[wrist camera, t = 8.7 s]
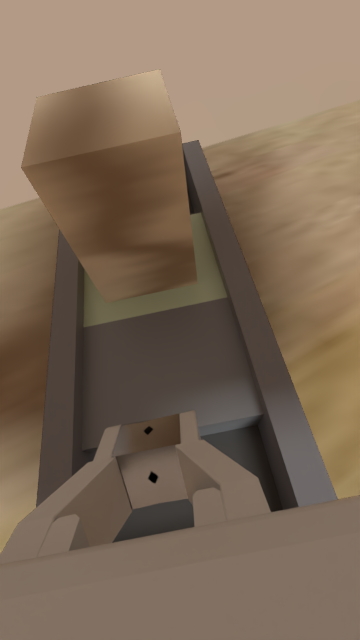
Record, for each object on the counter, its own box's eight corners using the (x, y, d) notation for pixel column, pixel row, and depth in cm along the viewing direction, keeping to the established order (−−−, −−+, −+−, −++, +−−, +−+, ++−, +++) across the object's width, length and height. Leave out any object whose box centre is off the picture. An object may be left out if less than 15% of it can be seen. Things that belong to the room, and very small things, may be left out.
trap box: (201, 182, 28) (198, 140, 25) (355, 630, 12) (411, 689, 8) (83, 208, 28) (64, 169, 25) (73, 682, 12) (15, 760, 9)
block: (181, 221, 21) (159, 69, 13) (197, 283, 18) (180, 131, 10) (103, 238, 21) (36, 97, 14) (105, 303, 18) (21, 167, 10)
